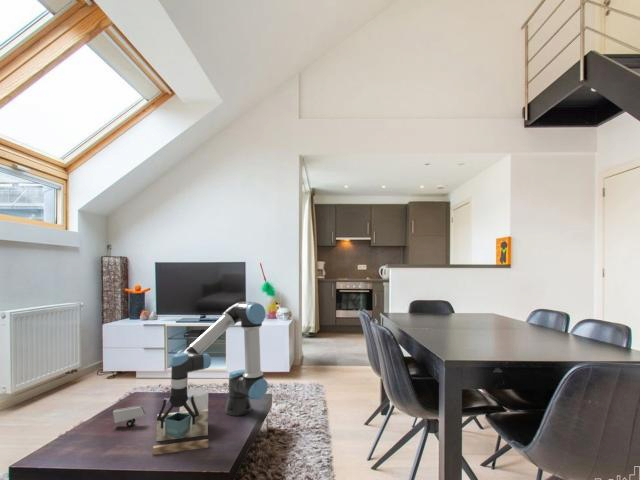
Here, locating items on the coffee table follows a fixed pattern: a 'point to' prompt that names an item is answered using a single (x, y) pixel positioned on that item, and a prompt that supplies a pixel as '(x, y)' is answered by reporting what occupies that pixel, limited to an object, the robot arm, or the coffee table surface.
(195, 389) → the container
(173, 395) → the robot arm
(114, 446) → the coffee table surface
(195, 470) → the coffee table surface
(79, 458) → the coffee table surface
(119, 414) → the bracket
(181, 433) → the flower pot
